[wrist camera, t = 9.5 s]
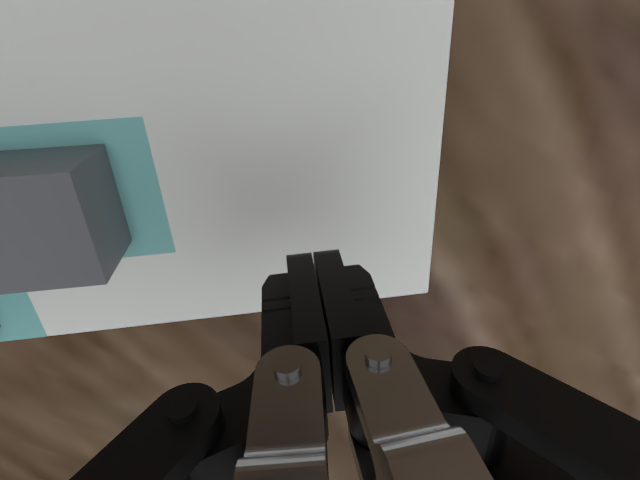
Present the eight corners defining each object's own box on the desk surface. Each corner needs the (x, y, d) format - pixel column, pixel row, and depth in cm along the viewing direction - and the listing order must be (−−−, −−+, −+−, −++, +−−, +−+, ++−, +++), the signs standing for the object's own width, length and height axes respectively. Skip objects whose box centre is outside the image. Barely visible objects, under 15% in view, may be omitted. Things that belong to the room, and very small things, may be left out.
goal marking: (-272, 20, 16) (-282, 20, 15) (116, 0, 17) (113, 0, 16) (-64, 345, 23) (-67, 349, 23) (193, 316, 24) (192, 319, 24)
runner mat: (-323, -10, 15) (-333, -11, 15) (455, -45, 17) (458, -46, 17) (-83, 347, 23) (-87, 351, 23) (426, 289, 26) (427, 292, 25)
